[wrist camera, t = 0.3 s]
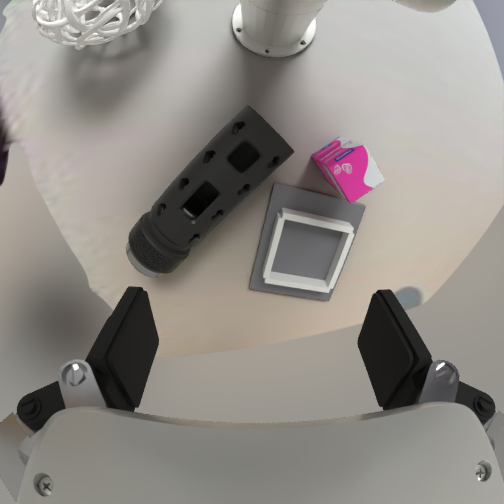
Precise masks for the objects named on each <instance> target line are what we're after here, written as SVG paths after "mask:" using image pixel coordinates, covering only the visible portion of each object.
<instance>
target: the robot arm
mask: <svg viewBox="0 0 504 504" xmlns="http://www.w3.org/2000/svg"><path fill="white" fill-rule="evenodd" d="M392 1H394V2H397V3H399V4H401V5H404V6H406V7H409V8H411V9H414V10H417V11H421V12H428V13H433V12H439V11H442V10H444V9H446V8H448V7H449V6H451V5H452V4H453V3H454V2H455V1H456V0H392ZM326 2H327V0H240V3H239V4H238V5H237V7H236V8H235V10H234V13H233V16H232V27H233V31H234V33H235V35H236V38H237V39H238V40H239V41H240V43H241V44H242V45H243V46H245V47H246V48H247V49H249V50H250V51H252V52H254V53H257V54H259V55H263V56H267V57H286V56H291V55H293V54H296V53H298V52H300V51H301V50H303V49H305V48H306V47H307V46H308V45H309V44H310V42H311V41H312V39H313V37H314V35H315V32H316V19H315V17H316V16H317V14H318V13H319V11H320V10H321V9H322V7H323V6H324V4H325V3H326ZM239 30H240V31H241V32H238V31H239ZM300 43H303V45H301V44H300ZM265 51H269V53H266V52H265ZM158 345H159V337H158V333H157V330H156V326H155V322H154V318H153V314H152V310H151V306H150V302H149V298H148V293H147V291H144V290H143V288H142V287H131V286H130V287H128V288H127V290H126V291H125V293H124V294H123V296H122V298H121V299H120V301H119V303H118V305H117V306H116V308H115V310H114V311H113V313H112V315H111V316H110V317H109V318H108V319H107V321H106V323H105V325H104V326H103V328H102V330H101V332H100V334H99V335H98V338H97V339H96V341H95V343H94V345H93V347H92V348H91V350H90V352H89V354H88V356H87V358H86V360H85V361H83V360H71V361H69V362H67V363H66V364H64V365H63V366H62V368H61V369H60V370H59V374H58V381H56V382H54V383H52V384H50V385H47V386H45V387H43V388H41V389H39V390H36V391H34V392H32V393H29V394H27V395H26V396H24V397H23V398H22V399H21V400H20V401H19V403H18V406H17V413H16V414H14V413H13V412H12V413H11V414H10V415H9V416H8V417H6V418H5V419H4V420H3V421H2V422H0V477H1V479H2V481H3V483H4V484H5V486H6V487H7V489H8V491H9V492H10V494H11V495H12V497H13V498H14V500H15V501H16V504H504V414H503V413H501V412H500V411H497V412H495V404H494V401H493V399H492V398H491V397H490V396H489V395H488V394H486V393H484V392H482V391H479V390H477V389H475V388H473V387H471V386H469V385H467V384H465V383H463V382H461V381H459V372H458V370H457V368H456V367H455V366H454V365H453V364H452V363H450V362H448V361H446V360H436V361H434V362H433V361H432V359H431V357H432V356H431V354H430V353H429V351H428V349H427V347H426V345H425V344H424V342H423V341H422V339H421V337H420V335H419V334H418V332H417V330H416V329H415V327H414V325H413V324H412V322H411V320H410V319H409V317H408V315H407V314H406V312H405V311H404V309H403V307H402V306H401V304H400V303H399V301H398V300H397V298H396V297H395V295H394V294H393V292H392V291H391V290H389V289H388V290H377V292H376V293H374V294H373V295H372V298H371V302H370V305H369V308H368V311H367V314H366V317H365V320H364V323H363V326H362V329H361V332H360V335H359V337H358V348H359V350H360V353H361V356H362V358H363V361H364V364H365V367H366V370H367V372H368V375H369V378H370V381H371V384H372V387H373V389H374V392H375V395H376V399H377V402H378V404H379V406H380V407H383V410H384V411H380V412H374V413H368V414H362V415H356V416H349V417H342V418H334V419H324V420H314V421H302V422H301V421H300V422H281V423H232V422H212V421H198V420H188V419H179V418H171V417H163V416H156V415H149V414H142V413H136V412H134V409H135V407H137V408H138V407H139V405H140V402H141V398H142V395H143V392H144V388H145V385H146V382H147V379H148V375H149V373H150V369H151V366H152V363H153V360H154V357H155V354H156V351H157V348H158Z"/></svg>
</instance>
